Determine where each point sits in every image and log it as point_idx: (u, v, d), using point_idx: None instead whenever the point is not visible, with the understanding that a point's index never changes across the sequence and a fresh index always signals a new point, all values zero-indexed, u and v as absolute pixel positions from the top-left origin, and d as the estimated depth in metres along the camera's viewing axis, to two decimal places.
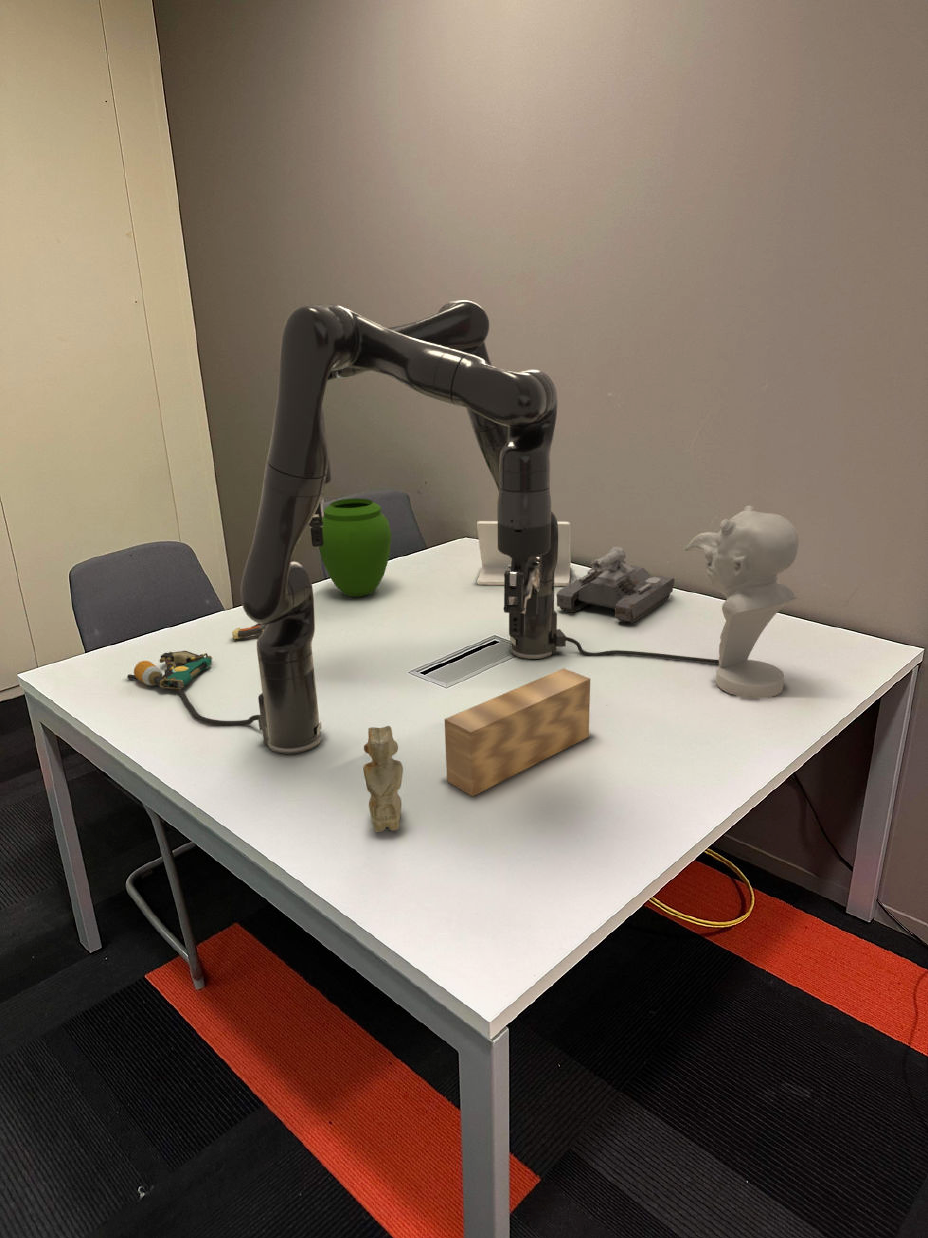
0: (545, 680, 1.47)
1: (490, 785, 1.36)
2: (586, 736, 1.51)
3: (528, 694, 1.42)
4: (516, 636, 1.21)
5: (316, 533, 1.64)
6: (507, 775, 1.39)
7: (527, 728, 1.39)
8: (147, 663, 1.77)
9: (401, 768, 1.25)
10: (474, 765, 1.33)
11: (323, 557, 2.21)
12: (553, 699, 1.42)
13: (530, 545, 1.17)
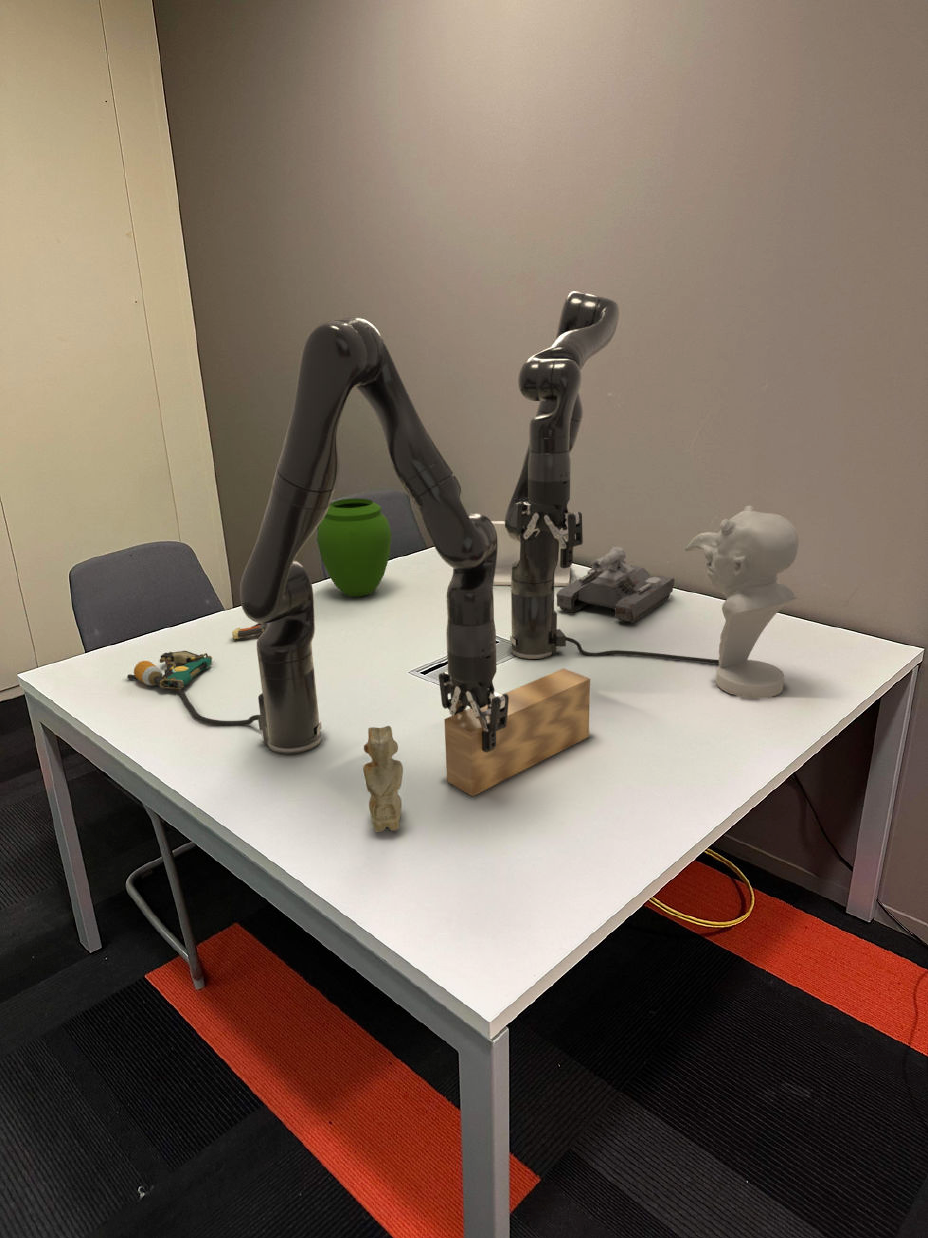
0: (545, 680, 1.47)
1: (490, 785, 1.36)
2: (586, 736, 1.51)
3: (528, 694, 1.42)
4: (490, 750, 1.33)
5: None
6: (507, 775, 1.39)
7: (527, 728, 1.39)
8: (147, 663, 1.77)
9: (401, 768, 1.25)
10: (474, 765, 1.33)
11: (323, 557, 2.21)
12: (553, 699, 1.42)
13: (494, 665, 1.30)
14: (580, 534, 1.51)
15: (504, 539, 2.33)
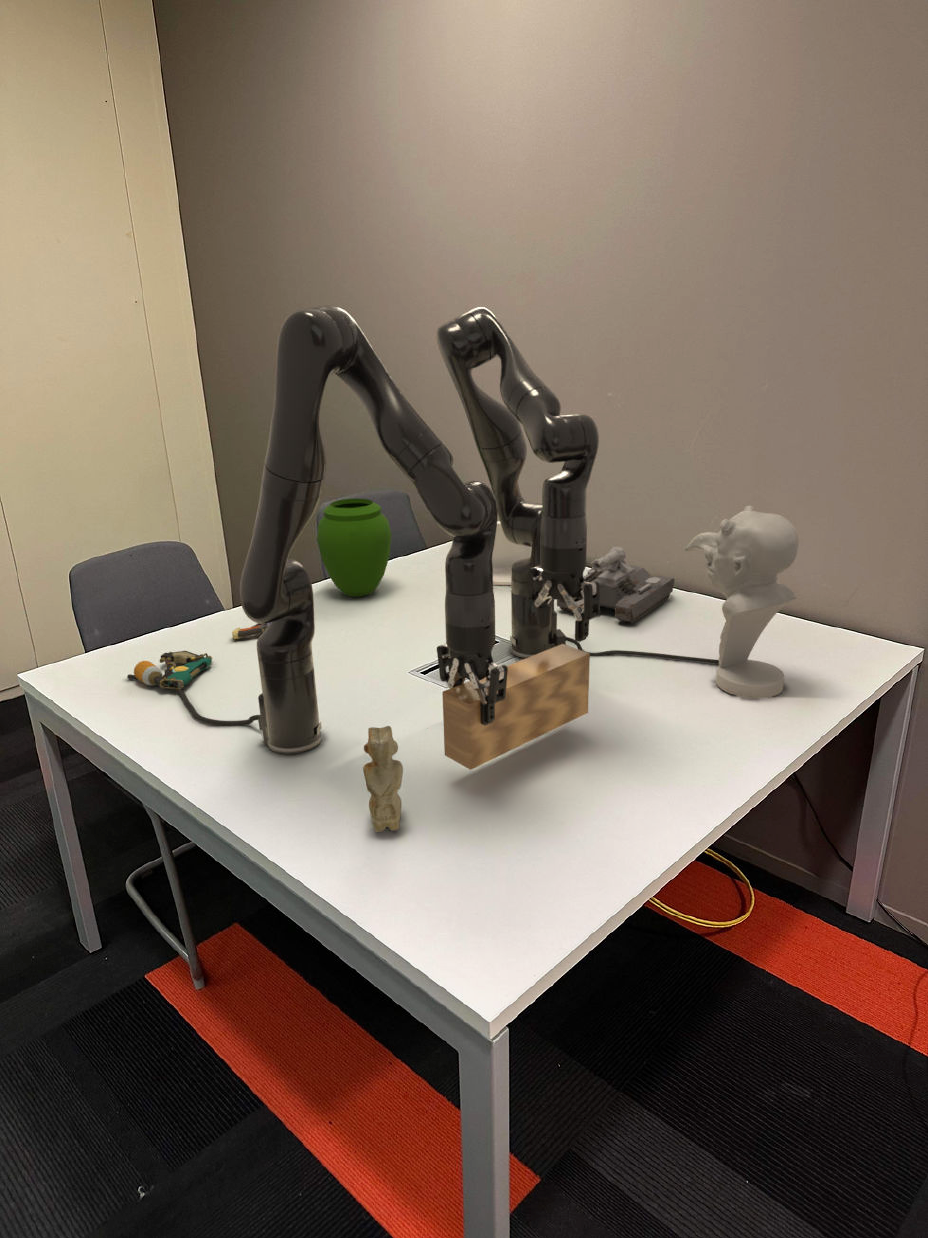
0: (544, 655, 1.45)
1: (488, 759, 1.35)
2: (585, 712, 1.49)
3: (527, 668, 1.40)
4: (488, 723, 1.32)
5: None
6: (505, 749, 1.37)
7: (526, 702, 1.38)
8: (147, 663, 1.77)
9: (401, 768, 1.25)
10: (472, 738, 1.31)
11: (323, 557, 2.21)
12: (552, 673, 1.40)
13: (493, 637, 1.28)
14: (597, 605, 1.38)
15: (504, 539, 2.33)
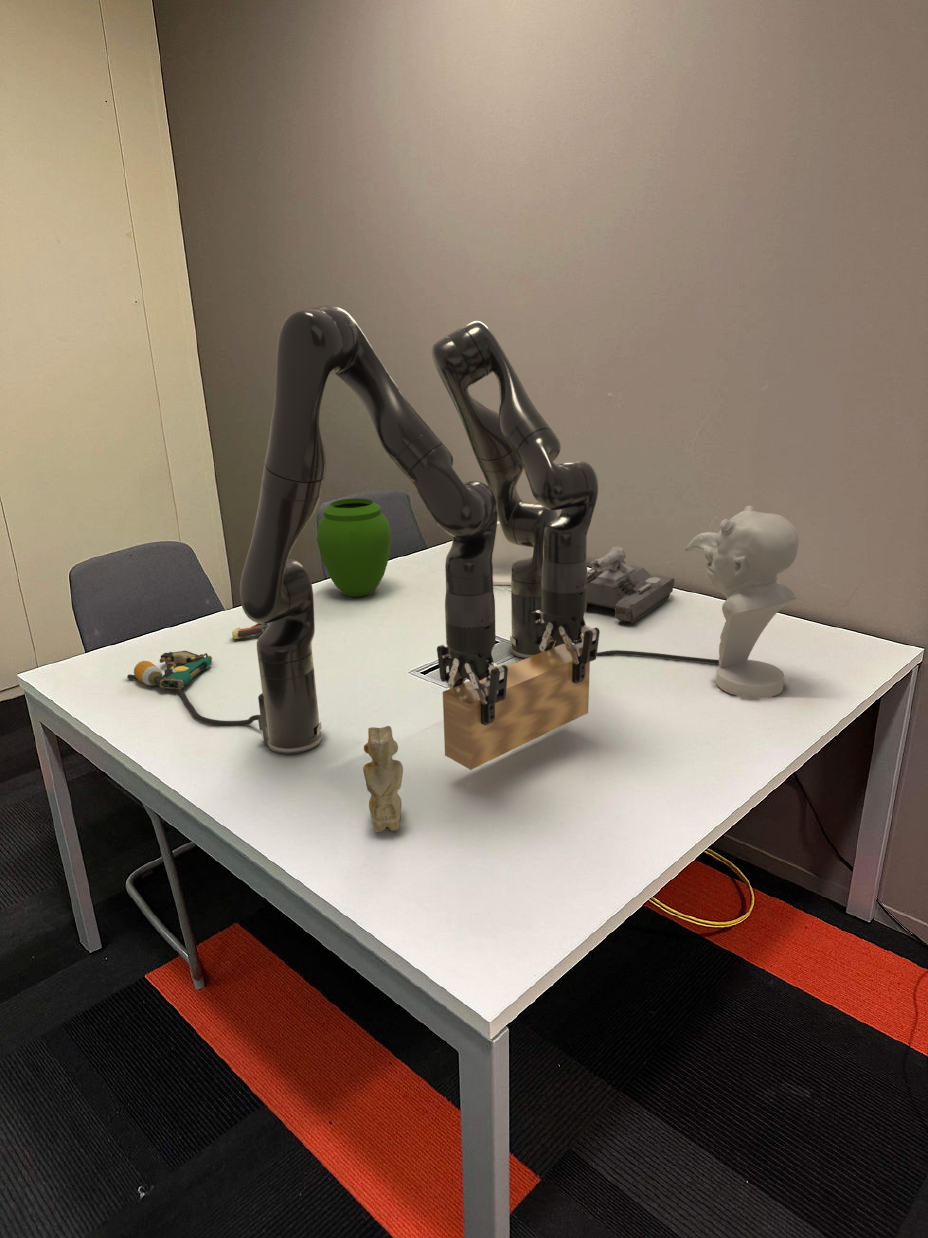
0: (544, 655, 1.45)
1: (489, 759, 1.35)
2: (585, 712, 1.49)
3: (527, 668, 1.40)
4: (488, 723, 1.32)
5: None
6: (506, 750, 1.37)
7: (526, 702, 1.37)
8: (147, 663, 1.77)
9: (401, 768, 1.25)
10: (472, 738, 1.31)
11: (323, 557, 2.21)
12: (552, 673, 1.40)
13: (493, 637, 1.28)
14: (595, 650, 1.41)
15: (504, 539, 2.33)
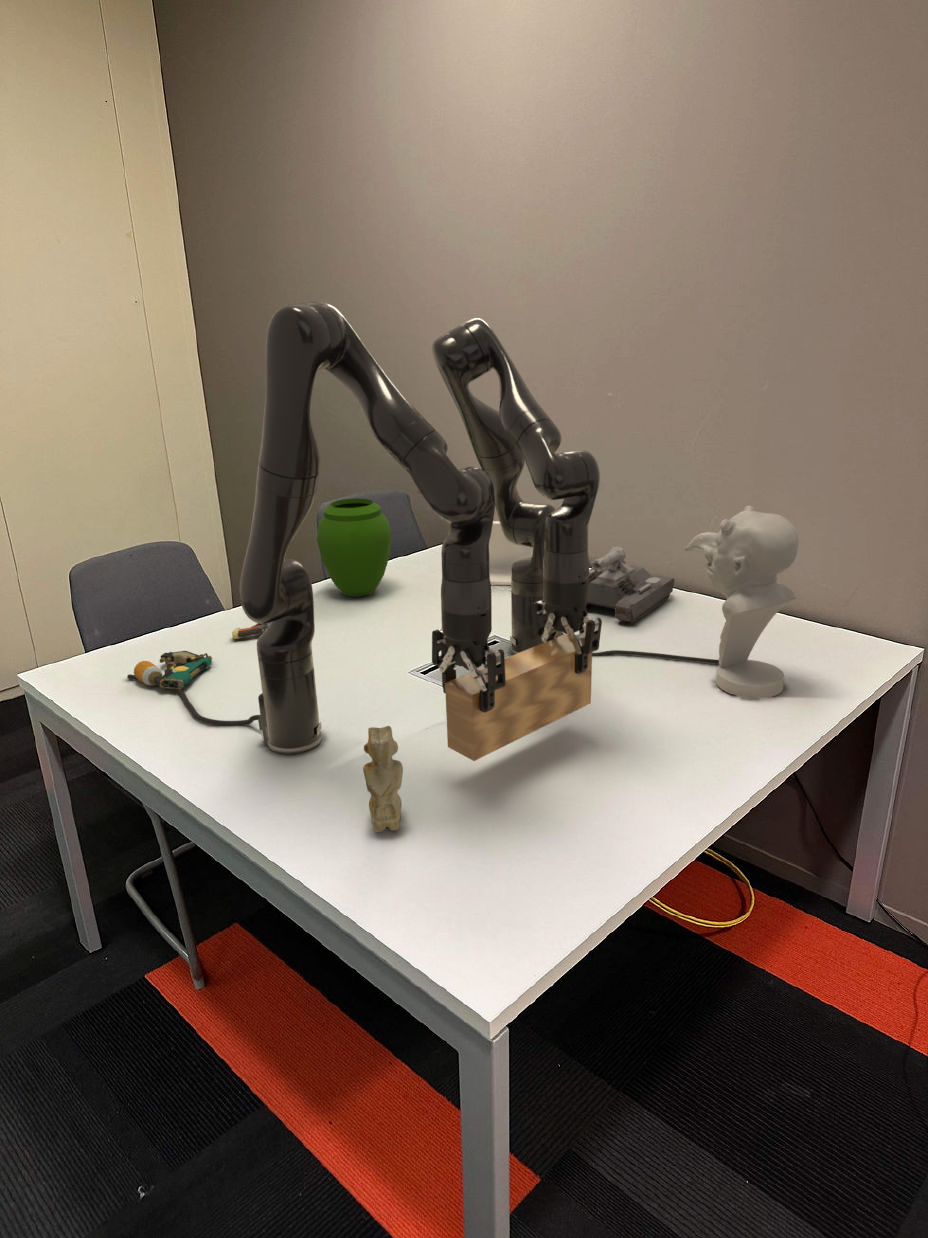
0: (546, 645, 1.45)
1: (492, 750, 1.34)
2: (588, 702, 1.49)
3: (529, 659, 1.40)
4: (488, 710, 1.30)
5: None
6: (509, 740, 1.37)
7: (529, 692, 1.37)
8: (147, 663, 1.77)
9: (401, 768, 1.25)
10: (475, 729, 1.31)
11: (323, 557, 2.21)
12: (555, 663, 1.40)
13: (490, 624, 1.27)
14: (597, 640, 1.40)
15: (504, 539, 2.33)
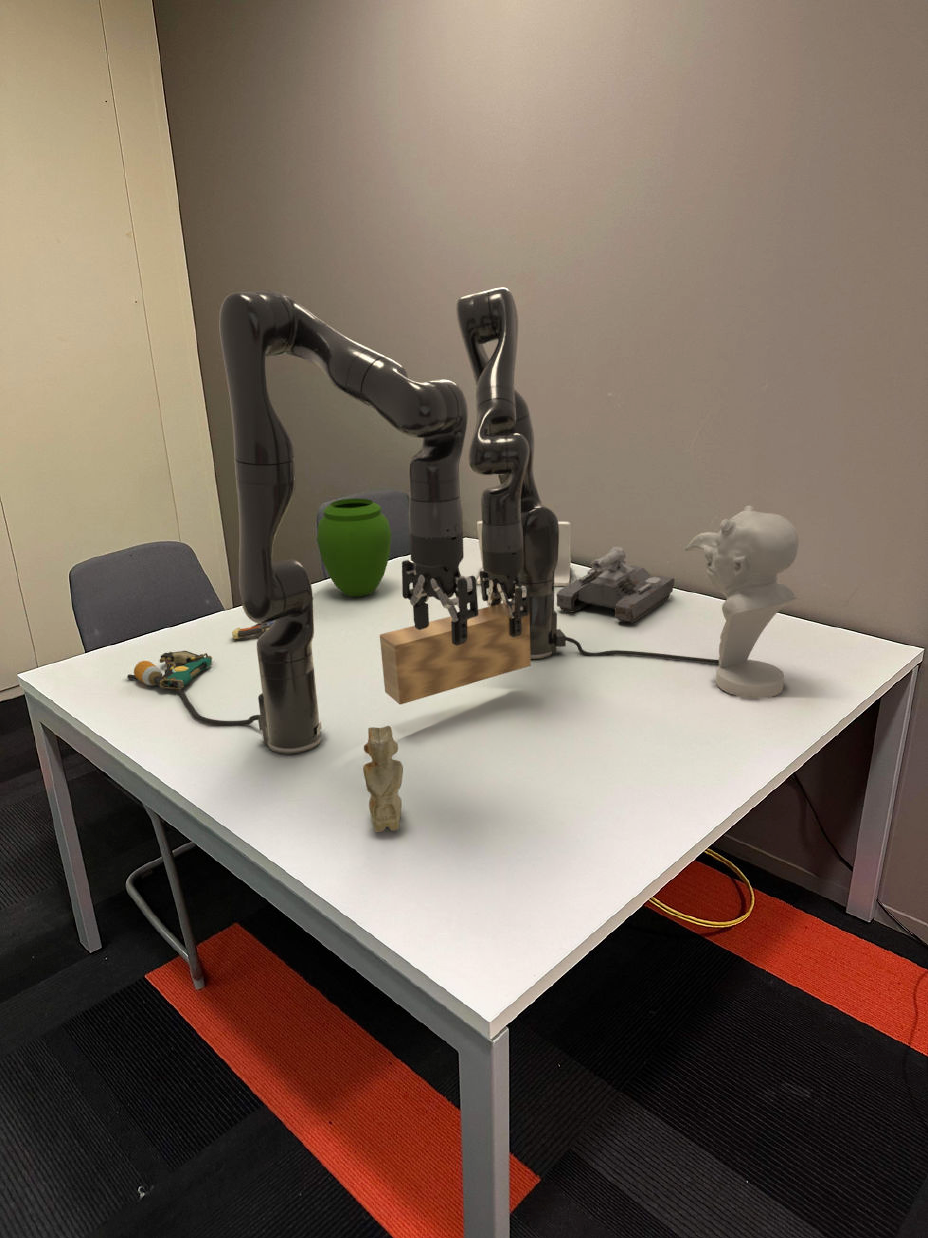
0: (487, 609, 1.60)
1: (419, 697, 1.52)
2: (527, 664, 1.62)
3: None
4: (460, 643, 1.22)
5: None
6: (438, 690, 1.53)
7: (458, 649, 1.53)
8: (147, 663, 1.77)
9: (401, 768, 1.25)
10: (400, 676, 1.48)
11: (323, 557, 2.21)
12: (486, 625, 1.54)
13: (461, 550, 1.19)
14: (527, 606, 1.54)
15: None
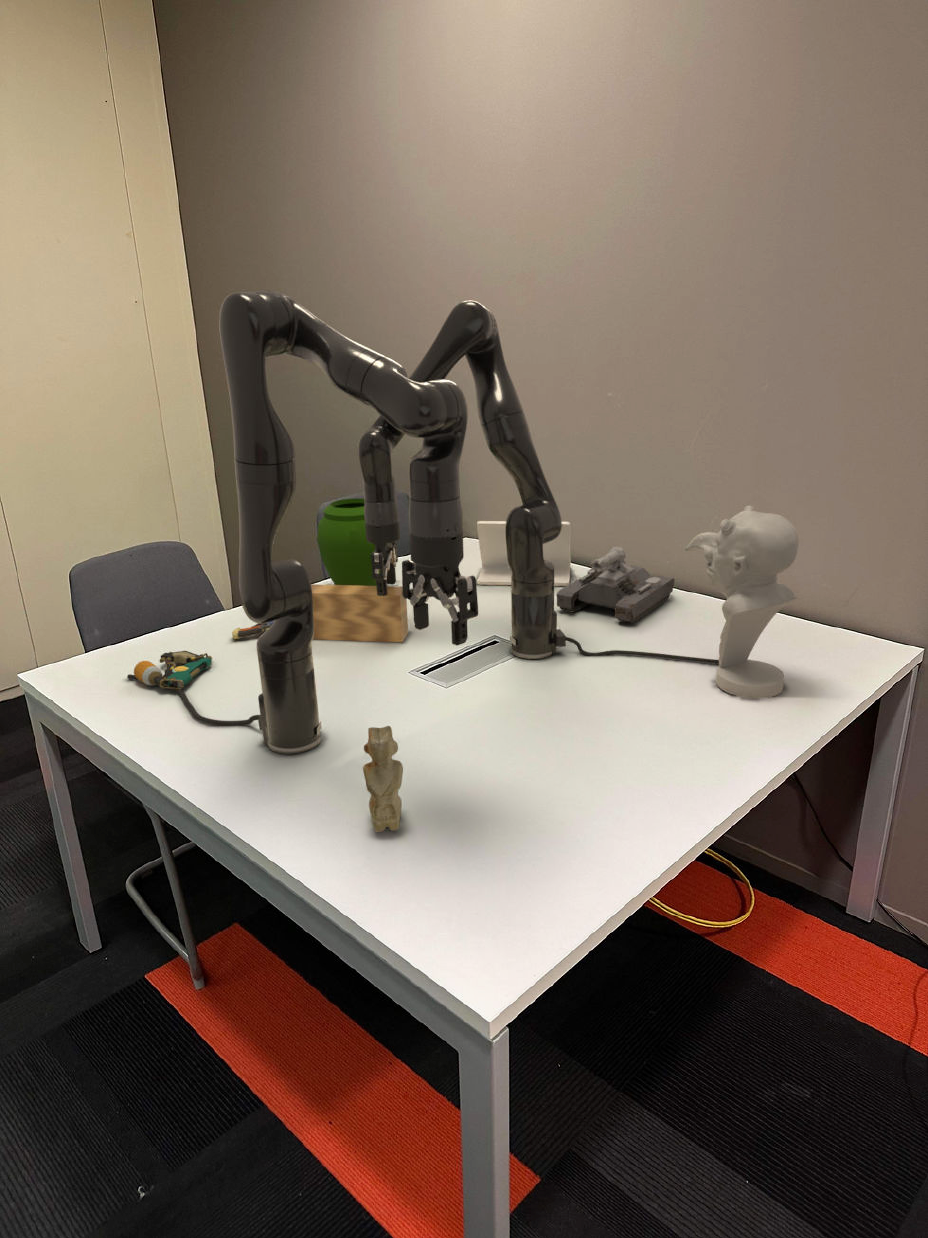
0: None
1: None
2: (399, 640, 1.95)
3: (351, 589, 1.96)
4: (460, 643, 1.22)
5: None
6: (317, 637, 1.98)
7: (335, 609, 1.95)
8: (147, 663, 1.77)
9: (401, 768, 1.25)
10: None
11: (323, 557, 2.21)
12: (359, 597, 1.93)
13: (461, 550, 1.19)
14: (381, 571, 1.85)
15: (504, 539, 2.33)
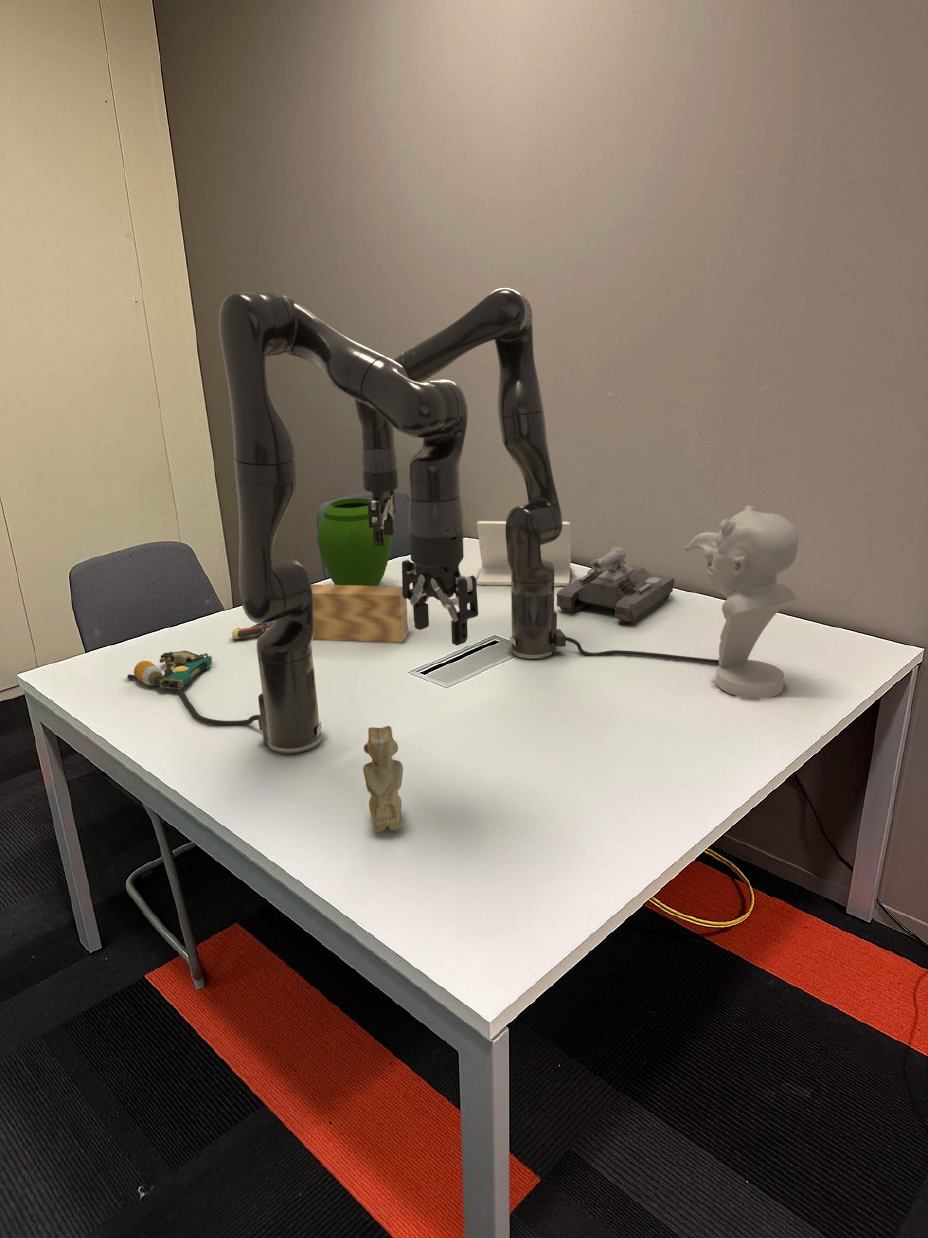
0: (378, 587, 1.97)
1: None
2: (399, 640, 1.95)
3: (351, 589, 1.96)
4: (460, 643, 1.22)
5: None
6: (317, 637, 1.98)
7: (335, 609, 1.95)
8: (147, 663, 1.77)
9: (401, 768, 1.25)
10: None
11: (323, 557, 2.21)
12: (359, 597, 1.93)
13: (461, 550, 1.19)
14: (377, 519, 1.82)
15: (504, 539, 2.33)
